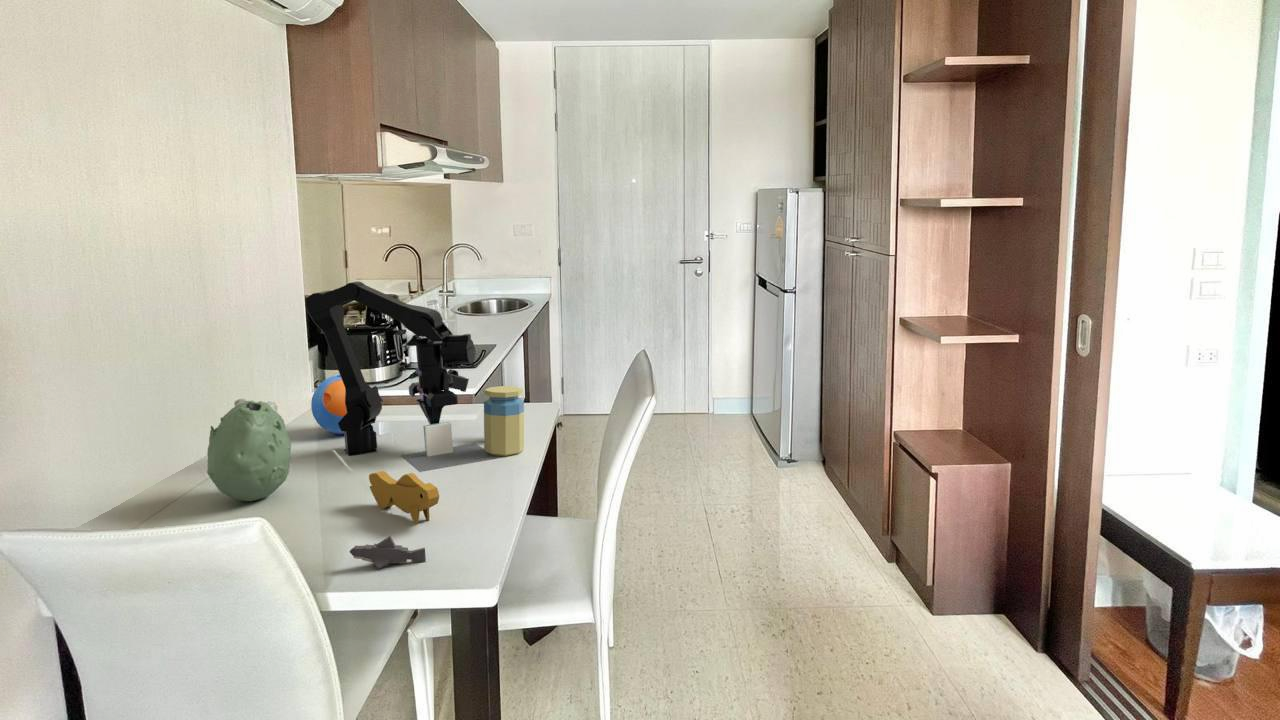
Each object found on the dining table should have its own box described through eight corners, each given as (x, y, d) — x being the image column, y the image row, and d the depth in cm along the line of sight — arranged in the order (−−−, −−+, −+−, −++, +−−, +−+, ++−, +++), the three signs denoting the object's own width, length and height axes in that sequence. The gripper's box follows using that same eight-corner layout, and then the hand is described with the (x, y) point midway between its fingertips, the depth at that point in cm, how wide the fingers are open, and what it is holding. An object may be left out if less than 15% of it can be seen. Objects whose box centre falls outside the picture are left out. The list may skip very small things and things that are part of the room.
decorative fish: (447, 520, 158) (436, 466, 158) (431, 525, 156) (420, 470, 156) (389, 520, 174) (379, 470, 174) (374, 524, 172) (364, 474, 172)
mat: (420, 473, 192) (419, 471, 192) (400, 456, 206) (400, 455, 205) (498, 459, 201) (498, 458, 200) (474, 444, 214) (474, 443, 214)
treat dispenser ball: (373, 423, 240) (369, 368, 237) (379, 436, 226) (374, 377, 223) (313, 430, 234) (307, 373, 232) (315, 443, 220) (309, 383, 218)
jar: (526, 456, 202) (525, 392, 200) (485, 458, 200) (484, 393, 198) (522, 447, 211) (521, 385, 209) (483, 448, 209) (482, 386, 207)
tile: (427, 456, 204) (425, 427, 203) (425, 454, 205) (423, 425, 204) (453, 452, 207) (450, 423, 205) (450, 450, 208) (448, 421, 207)
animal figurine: (425, 563, 146) (429, 534, 145) (423, 574, 141) (427, 544, 141) (350, 558, 143) (353, 528, 143) (346, 568, 139) (349, 538, 138)
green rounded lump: (199, 517, 168) (186, 415, 165) (226, 487, 186) (216, 395, 183) (285, 510, 171) (274, 409, 167) (304, 481, 189) (295, 390, 186)
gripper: (477, 365, 200) (481, 432, 203) (450, 355, 216) (455, 417, 219) (429, 371, 195) (434, 439, 198) (405, 360, 211) (411, 423, 214)
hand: (435, 429), depth 207 cm, fingers closed
